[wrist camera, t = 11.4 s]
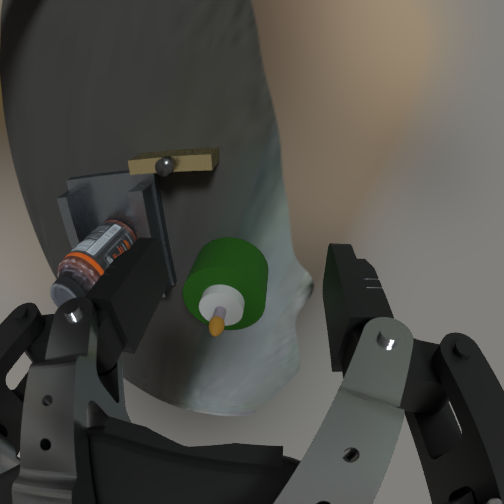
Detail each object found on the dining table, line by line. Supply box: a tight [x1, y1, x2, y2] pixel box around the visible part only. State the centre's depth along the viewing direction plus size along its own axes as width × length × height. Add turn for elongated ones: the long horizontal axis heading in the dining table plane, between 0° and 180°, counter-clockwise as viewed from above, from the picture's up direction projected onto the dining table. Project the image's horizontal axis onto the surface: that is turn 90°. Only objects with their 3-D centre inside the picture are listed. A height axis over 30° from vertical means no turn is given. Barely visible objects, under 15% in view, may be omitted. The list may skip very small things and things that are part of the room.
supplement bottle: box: [50, 220, 137, 308], centre depth 25 cm, size 6×6×11 cm
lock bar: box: [128, 148, 219, 177], centre depth 24 cm, size 2×8×4 cm, turn 91°
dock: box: [57, 170, 177, 298], centre depth 29 cm, size 14×12×4 cm
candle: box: [183, 237, 268, 337], centre depth 28 cm, size 8×8×10 cm
